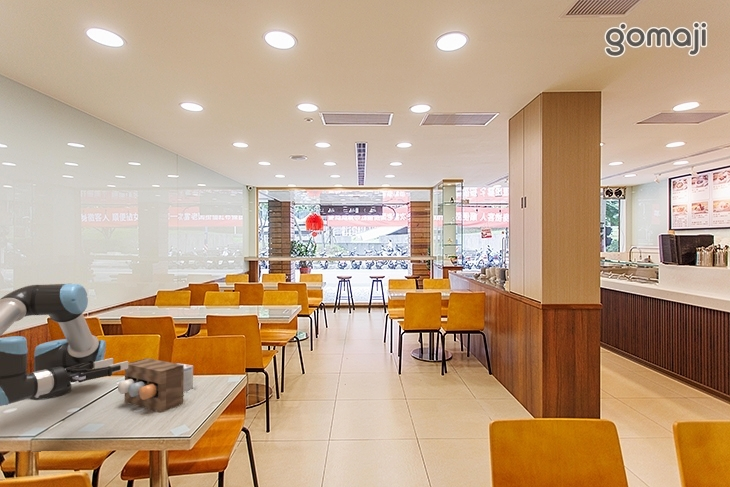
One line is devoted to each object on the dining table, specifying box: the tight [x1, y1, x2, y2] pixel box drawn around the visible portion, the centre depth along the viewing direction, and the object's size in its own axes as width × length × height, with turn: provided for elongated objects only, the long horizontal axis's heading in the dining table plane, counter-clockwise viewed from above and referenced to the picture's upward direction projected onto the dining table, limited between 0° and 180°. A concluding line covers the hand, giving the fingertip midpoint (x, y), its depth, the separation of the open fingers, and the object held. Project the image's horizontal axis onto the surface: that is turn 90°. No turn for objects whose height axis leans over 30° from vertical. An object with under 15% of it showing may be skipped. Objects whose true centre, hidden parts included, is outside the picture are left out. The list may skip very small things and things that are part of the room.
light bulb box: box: [175, 362, 194, 393], centre depth 180 cm, size 11×7×11 cm, turn 67°
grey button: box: [128, 381, 147, 397], centre depth 159 cm, size 5×8×5 cm, turn 153°
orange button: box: [139, 384, 158, 400], centre depth 155 cm, size 5×8×5 cm, turn 153°
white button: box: [117, 379, 136, 395], centre depth 162 cm, size 5×8×5 cm, turn 153°
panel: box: [124, 357, 184, 413], centre depth 163 cm, size 24×10×16 cm, turn 63°
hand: (120, 363), depth 144 cm, fingers open, 9 cm apart
